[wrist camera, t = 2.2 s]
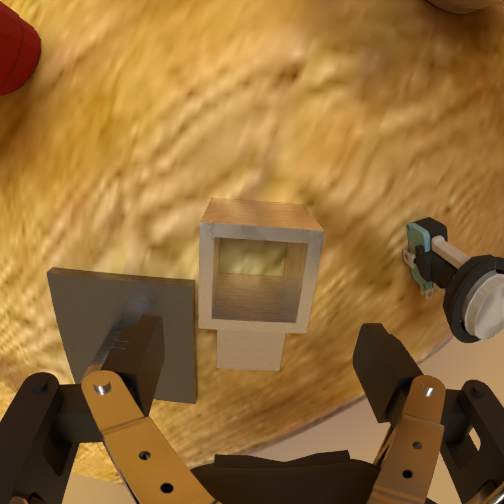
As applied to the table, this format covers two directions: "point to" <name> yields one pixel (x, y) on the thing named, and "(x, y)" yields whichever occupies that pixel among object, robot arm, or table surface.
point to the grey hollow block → (257, 281)
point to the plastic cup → (16, 50)
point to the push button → (457, 281)
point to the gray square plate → (126, 322)
